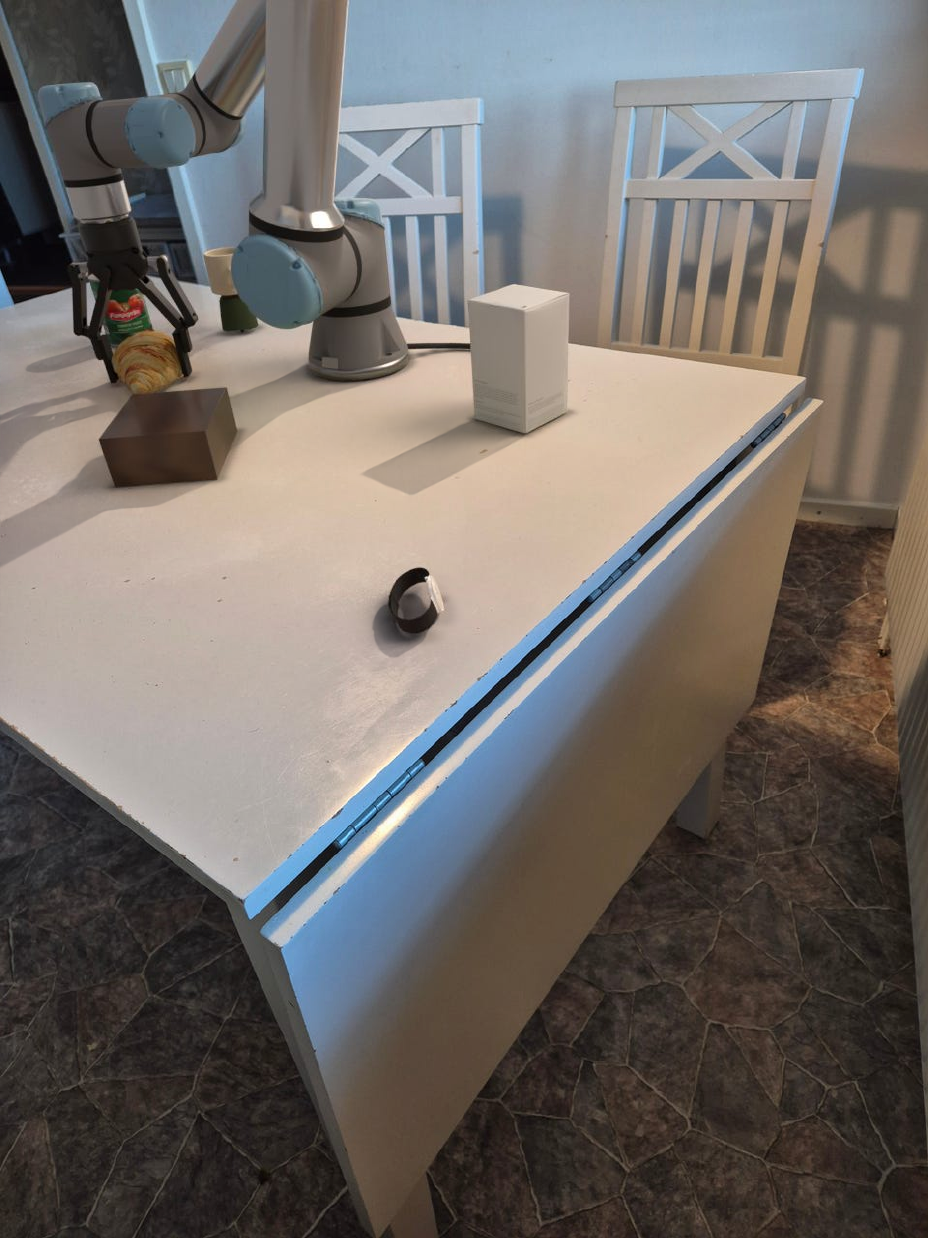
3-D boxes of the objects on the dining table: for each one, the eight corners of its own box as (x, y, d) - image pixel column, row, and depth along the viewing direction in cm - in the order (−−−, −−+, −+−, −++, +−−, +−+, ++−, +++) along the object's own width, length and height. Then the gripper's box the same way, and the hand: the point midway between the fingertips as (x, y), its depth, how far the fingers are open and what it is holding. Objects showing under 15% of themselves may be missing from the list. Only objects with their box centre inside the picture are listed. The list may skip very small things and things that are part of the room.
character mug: (267, 334, 140) (251, 254, 132) (225, 341, 138) (207, 260, 130) (256, 319, 148) (240, 242, 140) (216, 325, 146) (198, 248, 138)
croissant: (170, 422, 118) (184, 371, 114) (97, 399, 114) (108, 345, 110) (182, 372, 135) (194, 326, 131) (118, 350, 131) (128, 302, 127)
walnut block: (237, 431, 106) (227, 386, 102) (217, 479, 95) (205, 431, 91) (145, 438, 106) (132, 393, 102) (114, 487, 94) (98, 439, 91)
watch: (446, 636, 68) (443, 601, 65) (390, 642, 67) (385, 606, 65) (441, 586, 74) (438, 551, 72) (389, 590, 74) (385, 556, 72)
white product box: (570, 412, 105) (573, 291, 96) (525, 435, 100) (524, 310, 91) (516, 397, 110) (514, 281, 101) (471, 418, 105) (465, 298, 96)
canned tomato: (137, 330, 146) (118, 266, 140) (164, 336, 142) (146, 270, 136) (99, 343, 141) (77, 276, 135) (126, 349, 137) (105, 281, 131)
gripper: (194, 206, 114) (231, 362, 127) (31, 219, 114) (85, 374, 127) (182, 215, 108) (222, 378, 121) (10, 230, 108) (68, 391, 121)
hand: (152, 376), depth 124 cm, fingers closed on croissant, 10 cm apart
